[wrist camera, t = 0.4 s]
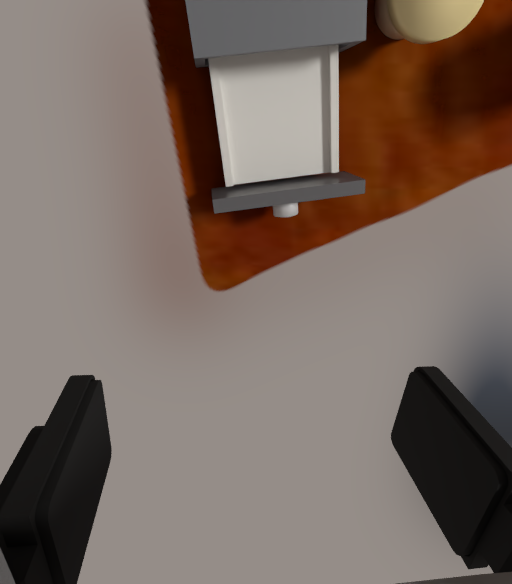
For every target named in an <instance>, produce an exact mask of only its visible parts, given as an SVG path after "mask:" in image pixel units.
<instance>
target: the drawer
mask: <svg viewBox="0 0 512 584" xmlns="http://www.w3.org/2000/svg"><path fill="white" fill-rule="evenodd" d="M208 63H209V71H210V78H211V85H212V92H213V99H214V107H215V114H216V121H217V128H218V136H219V143H220V150H221V157H222V164H223V172H224V179H225V185H226V187H220V188H212V189H211V190H212V201H213V208H214V214H215V213H223V212H230V211H237V210H245V209H252V208H260V207H267V206H273V214H274V216H276V217H290V216H294V215H297V214H298V202H304V201H312V200H319V199H326V198H334V197H341V196H349V195H356V194H363V193H365V179H363V178H360V177H358V176H355V175H353V174H350V173H348V172H345V171H342V172H339V56H338V45H330V46H321V47H312V48H302V49H293V50H283V51H274V52H265V53H255V54H246V55H237V56H227V57H218V58H208ZM328 172H330V173H328ZM320 173H327V174H320ZM312 174H319V175H312ZM305 175H312V176H305ZM297 176H304V177H297ZM289 177H296V178H289ZM282 178H289V179H282ZM274 179H281V180H274ZM266 180H273V181H266ZM259 181H266V182H259ZM251 182H258V183H251ZM243 183H250V184H243ZM235 184H243V185H235ZM233 185H235V186H233Z"/></svg>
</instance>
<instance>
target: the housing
mask: <svg viewBox="0 0 512 584" xmlns="http://www.w3.org/2000/svg"><path fill="white" fill-rule="evenodd" d="M185 2H186V8H187V15H188V21H189V28H190V34H191V41H192V47H193V54H194V60H195V65H196V68H198V67H208V66H209V63H208V58H218V57H227V56H237V55H246V54H255V53H265V52H274V51H283V50H293V49H302V48H312V47H321V46H330V45H338V52H342V51H344V50H346V49H348V48H350V47H353V46H355V45H357V44H359V43H361V42H363V41H365V40H366V23H367V0H185Z"/></svg>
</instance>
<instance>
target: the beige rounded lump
mask: <svg viewBox="0 0 512 584" xmlns="http://www.w3.org/2000/svg"><path fill="white" fill-rule="evenodd" d="M374 9H375V19H376V22H377V25H378V27H379V29H380V30H381V32H382V33H383V34H384V35H386V36H387V37H389V38H391V39H396V40H400V39H405V38H403V37H402V36H401V35H400V34H399V33H398V32H397V31H396V29H395V28H394V26H393V24H392V22H391V20H390V17H389V14H388V9H387V1H386V0H375V8H374Z"/></svg>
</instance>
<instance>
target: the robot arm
mask: <svg viewBox="0 0 512 584" xmlns="http://www.w3.org/2000/svg"><path fill="white" fill-rule="evenodd" d="M391 440H392V443H393V446H394V448H395V449H396V451H397V453H398V455H399V456H400V458H401V460H402V461H403V463H404V465H405V467H406V469H407V470H408V472H409V474H410V476H411V477H412V479H413V481H414V482H415V484H416V486H417V488H418V490H419V492H420V493H421V495H422V497H423V499H424V500H425V502H426V504H427V505H428V507H429V509H430V511H431V513H432V514H433V516H434V518H435V519H436V521H437V523H438V525H439V527H440V528H441V530H442V532H443V534H444V535H445V537H446V539H447V541H448V542H449V544H450V546H451V548H452V549H453V551H454V552H455V553H456V554H457V555H459V556H461V557H462V559H463V561H464V562H465V564H466V566H467V568H468V569H474V568H483V567H487V566H488V564H489V566H490V567H491V569H492V570H493V572H494V573H492V574H481V575H471V576H462V577H453V578H444V579H434V580H426V581H416V582H407V583H397V584H512V448H511V447H510V446H509V444H508V443H507V442H506V441H505V440H504V439H503V438H502V437H501V436H500V435H499V434H498V433H497V431H496V430H495V429H494V428H493V427H492V426H491V425H490V424H489V423H488V422H487V420H486V419H485V418H484V417H483V416H482V415H481V414H480V413H479V412H478V411H477V410H476V409H475V407H474V406H473V405H472V404H471V403H470V402H469V401H468V400H467V399H466V398H465V397H464V395H463V394H462V393H461V392H460V391H459V390H458V389H457V388H456V387H455V386H454V385H453V384H452V382H450V380H449V379H448V378H447V377H446V376H445V375H444V374H443V373H442V372H441V371H440V369H438V368H437V367H434V366H432V367H417V368H415V370H414V372H411V373H410V375H409V378H408V381H407V384H406V387H405V390H404V394H403V397H402V400H401V404H400V407H399V410H398V413H397V416H396V420H395V423H394V426H393V430H392V433H391ZM110 460H111V442H110V435H109V428H108V422H107V415H106V408H105V401H104V394H103V388H102V382H101V380H95V377H94V376H93V375H80V376H79V375H77V376H76V375H75V376H71V377H70V378H69V379H68V381H67V383H66V385H65V387H64V389H63V391H62V393H61V395H60V397H59V399H58V401H57V403H56V405H55V406H54V408H53V410H52V412H51V414H50V416H49V418H48V420H47V422H46V424H45V426H35V427H34V428H33V429H32V430H31V431H30V433H29V434H28V436H27V438H26V440H25V441H24V443H23V445H22V447H21V448H20V450H19V452H18V454H17V456H16V457H15V459H14V461H13V463H12V465H11V466H10V468H9V470H8V472H7V474H6V475H5V477H4V479H3V481H2V483H1V484H0V584H77V581H78V577H79V573H80V570H81V566H82V562H83V559H84V555H85V551H86V547H87V544H88V540H89V537H90V533H91V530H92V526H93V522H94V518H95V515H96V511H97V507H98V504H99V500H100V497H101V493H102V489H103V485H104V482H105V479H106V475H107V471H108V468H109V464H110Z"/></svg>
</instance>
